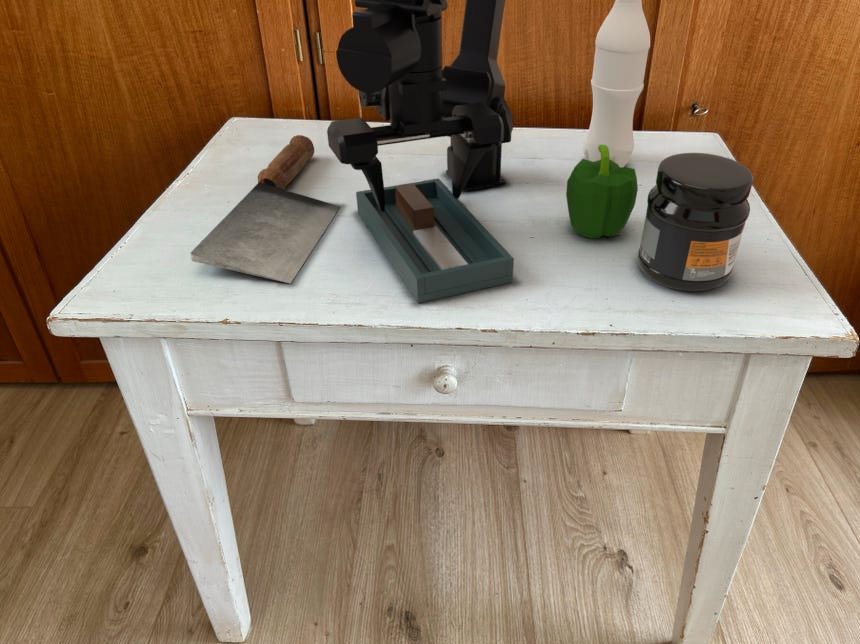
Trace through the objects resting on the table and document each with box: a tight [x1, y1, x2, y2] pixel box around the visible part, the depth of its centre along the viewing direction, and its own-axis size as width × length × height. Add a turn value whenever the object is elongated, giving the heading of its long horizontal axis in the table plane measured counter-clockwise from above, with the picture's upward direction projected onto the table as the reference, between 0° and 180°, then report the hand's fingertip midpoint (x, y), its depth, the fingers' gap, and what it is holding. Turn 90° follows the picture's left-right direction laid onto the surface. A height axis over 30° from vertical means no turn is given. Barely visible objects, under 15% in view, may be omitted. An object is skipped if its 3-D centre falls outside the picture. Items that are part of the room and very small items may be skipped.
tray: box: [355, 177, 515, 304], centre depth 82 cm, size 11×22×3 cm, turn 24°
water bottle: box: [583, 0, 651, 167], centre depth 95 cm, size 7×7×25 cm
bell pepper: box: [565, 145, 639, 239], centre depth 84 cm, size 8×8×10 cm
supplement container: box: [637, 152, 754, 292], centre depth 76 cm, size 10×10×12 cm
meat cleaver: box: [190, 134, 341, 285], centre depth 88 cm, size 34×11×4 cm, turn 173°
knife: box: [395, 183, 468, 270], centre depth 82 cm, size 3×17×3 cm, turn 24°
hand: (419, 203), depth 83 cm, fingers open, 9 cm apart
